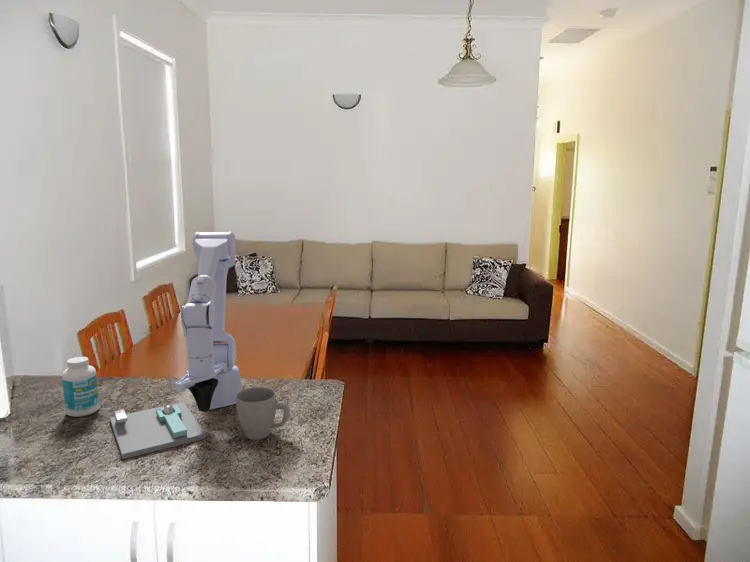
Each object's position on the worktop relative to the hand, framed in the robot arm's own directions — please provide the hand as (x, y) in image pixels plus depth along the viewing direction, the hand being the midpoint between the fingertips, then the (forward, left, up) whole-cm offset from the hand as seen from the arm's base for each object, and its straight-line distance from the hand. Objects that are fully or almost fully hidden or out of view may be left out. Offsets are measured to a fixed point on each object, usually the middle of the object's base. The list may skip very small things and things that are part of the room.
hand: (204, 410), depth 128 cm
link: (+6, -3, -3) cm, 8 cm away
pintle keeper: (+12, -9, -4) cm, 15 cm away
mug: (-11, +10, -5) cm, 15 cm away
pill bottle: (+23, -25, -5) cm, 34 cm away
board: (+10, -5, -4) cm, 12 cm away
